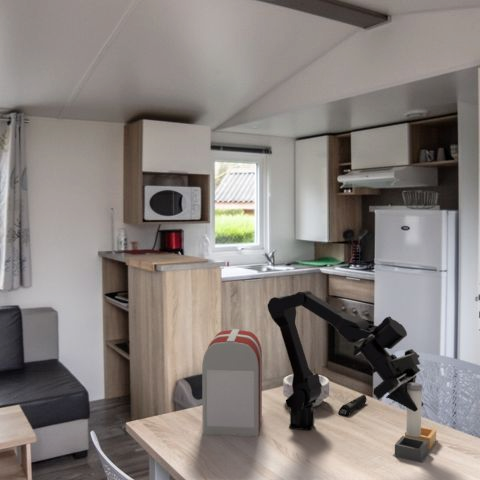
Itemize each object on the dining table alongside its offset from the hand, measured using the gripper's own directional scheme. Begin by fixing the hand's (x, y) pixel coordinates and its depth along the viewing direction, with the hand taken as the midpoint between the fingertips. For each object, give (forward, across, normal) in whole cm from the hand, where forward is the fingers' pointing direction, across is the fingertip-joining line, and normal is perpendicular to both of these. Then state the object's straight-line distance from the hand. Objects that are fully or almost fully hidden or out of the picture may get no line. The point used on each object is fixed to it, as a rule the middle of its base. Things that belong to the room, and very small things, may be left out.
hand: (419, 408), depth 144 cm
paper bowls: (-22, +18, +41) cm, 50 cm away
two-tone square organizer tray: (+8, +3, +10) cm, 13 cm away
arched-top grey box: (-28, -11, +46) cm, 55 cm away
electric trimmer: (-11, +22, +31) cm, 39 cm away
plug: (+4, 0, +6) cm, 7 cm away
